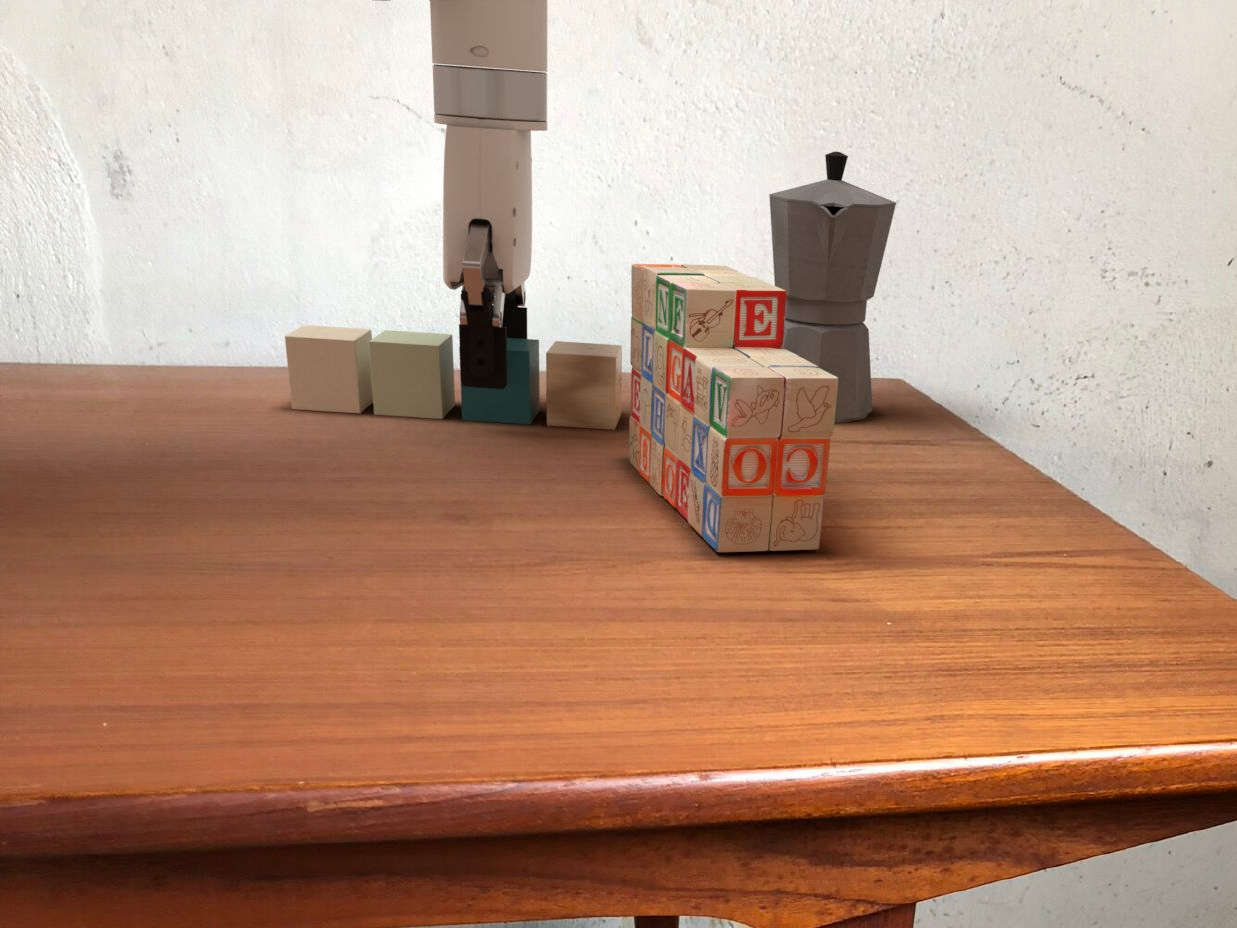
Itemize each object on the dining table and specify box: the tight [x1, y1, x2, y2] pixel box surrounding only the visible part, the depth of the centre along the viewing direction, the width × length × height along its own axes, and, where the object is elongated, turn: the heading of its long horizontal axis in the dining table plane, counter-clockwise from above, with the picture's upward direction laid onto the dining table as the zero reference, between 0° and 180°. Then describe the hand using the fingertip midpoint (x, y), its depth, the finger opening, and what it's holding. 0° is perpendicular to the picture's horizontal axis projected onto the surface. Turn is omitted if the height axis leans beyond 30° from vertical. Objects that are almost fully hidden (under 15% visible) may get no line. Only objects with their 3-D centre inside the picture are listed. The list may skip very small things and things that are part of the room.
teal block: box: [458, 338, 541, 426], centre depth 102 cm, size 5×5×5 cm
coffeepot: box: [768, 151, 897, 424], centre depth 107 cm, size 15×9×18 cm, turn 177°
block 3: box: [545, 340, 623, 431], centre depth 102 cm, size 5×5×5 cm
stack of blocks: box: [629, 263, 838, 553], centre depth 82 cm, size 21×6×12 cm, turn 16°
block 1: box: [284, 324, 373, 415], centre depth 102 cm, size 5×5×5 cm
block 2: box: [369, 329, 456, 420], centre depth 102 cm, size 5×5×5 cm
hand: (495, 374), depth 102 cm, fingers open, 9 cm apart
